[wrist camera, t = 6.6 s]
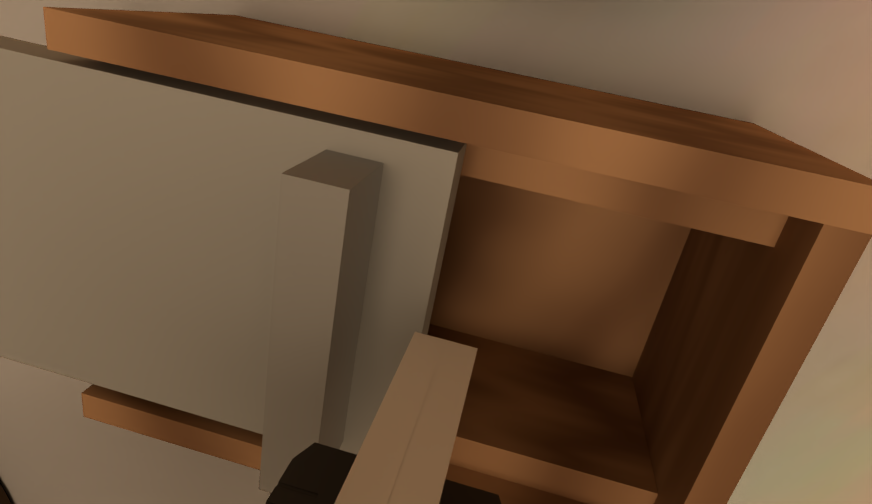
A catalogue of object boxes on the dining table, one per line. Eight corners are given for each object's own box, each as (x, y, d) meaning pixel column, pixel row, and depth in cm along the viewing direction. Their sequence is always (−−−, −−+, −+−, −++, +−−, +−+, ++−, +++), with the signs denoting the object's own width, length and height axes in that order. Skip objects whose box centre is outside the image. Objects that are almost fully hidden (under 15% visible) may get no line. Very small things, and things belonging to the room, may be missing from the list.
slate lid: (-12, 320, 20) (-135, 383, 17) (-63, 21, 16) (-242, 19, 13) (405, 441, 19) (369, 541, 15) (467, 141, 14) (438, 178, 11)
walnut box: (225, 299, 27) (83, 416, 19) (234, 15, 22) (42, 6, 14) (636, 409, 25) (676, 596, 17) (753, 123, 20) (896, 190, 12)
